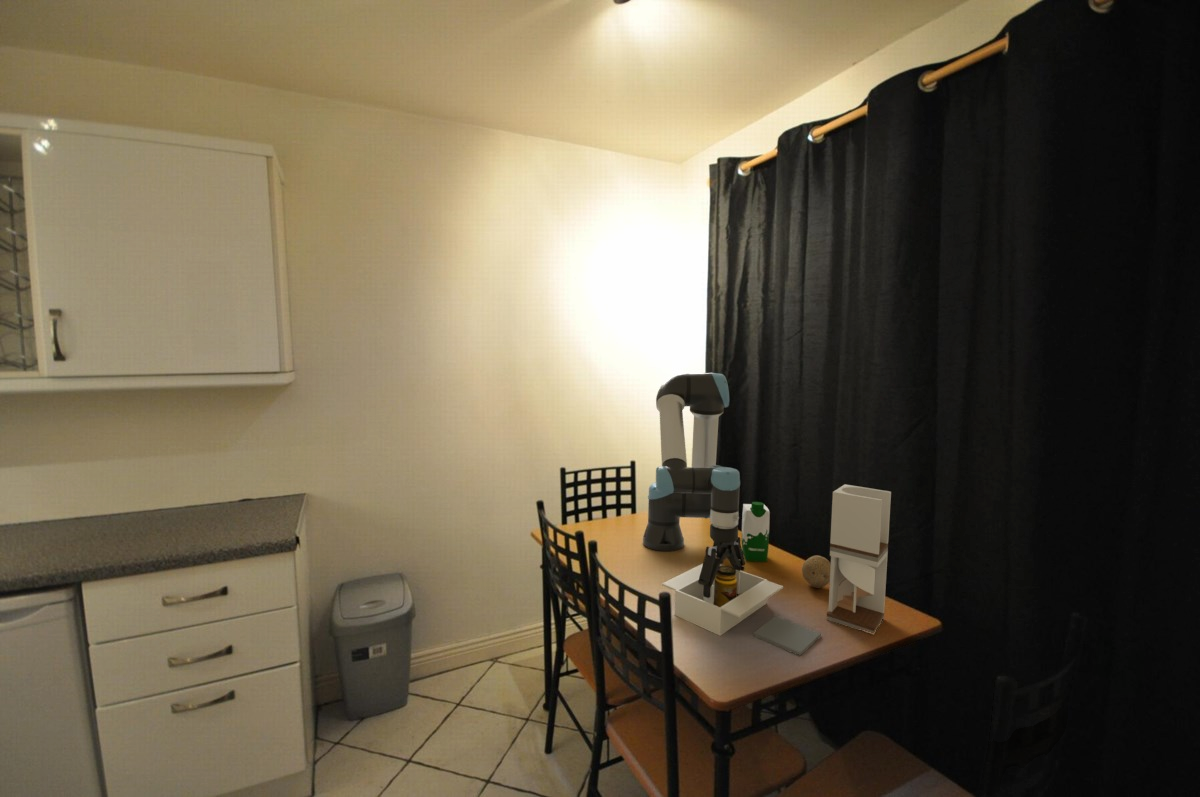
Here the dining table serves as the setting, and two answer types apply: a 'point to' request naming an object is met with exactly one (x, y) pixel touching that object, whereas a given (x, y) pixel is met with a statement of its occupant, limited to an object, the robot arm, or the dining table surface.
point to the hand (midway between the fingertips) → (722, 599)
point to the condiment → (725, 585)
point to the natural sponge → (817, 571)
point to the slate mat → (787, 635)
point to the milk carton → (755, 531)
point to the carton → (712, 616)
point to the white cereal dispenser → (858, 556)
